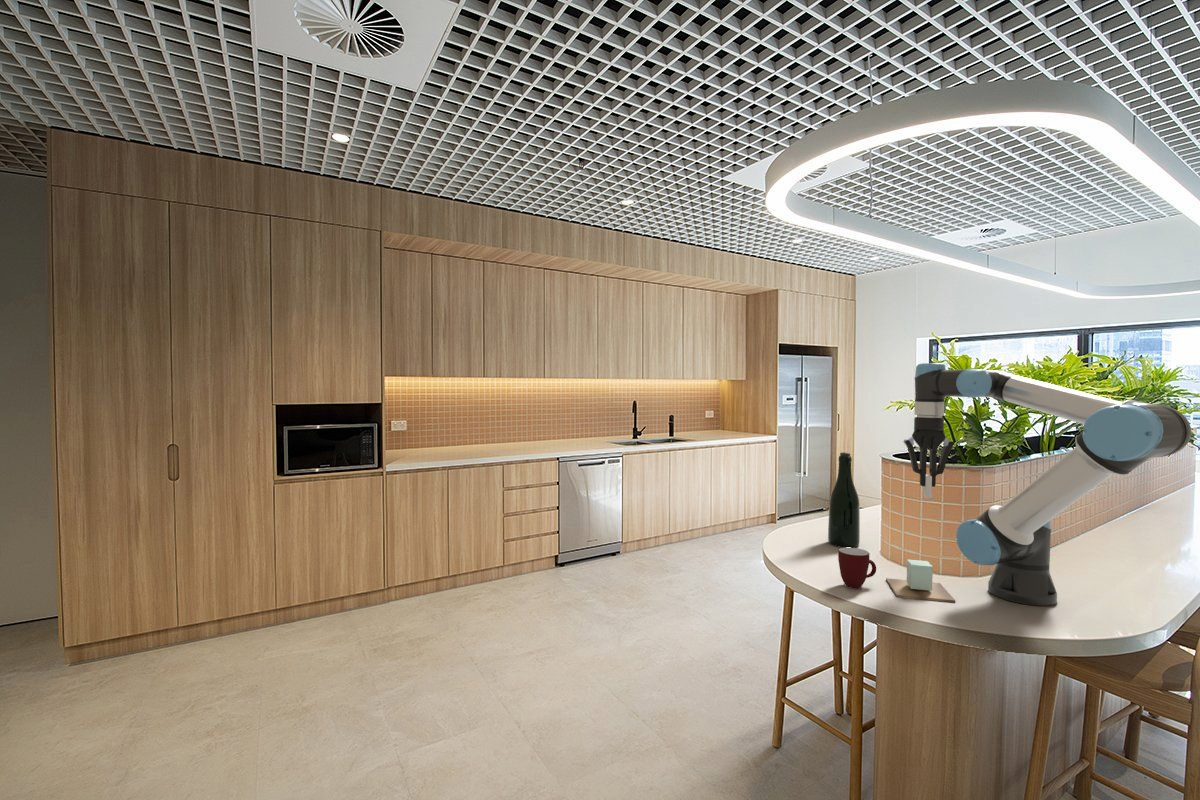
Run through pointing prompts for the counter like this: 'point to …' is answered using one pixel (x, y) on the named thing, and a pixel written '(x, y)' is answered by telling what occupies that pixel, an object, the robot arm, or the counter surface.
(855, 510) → the dark green wine bottle
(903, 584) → the brown square plate
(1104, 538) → the counter surface
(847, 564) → the mug
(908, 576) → the pale green block
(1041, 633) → the counter surface
